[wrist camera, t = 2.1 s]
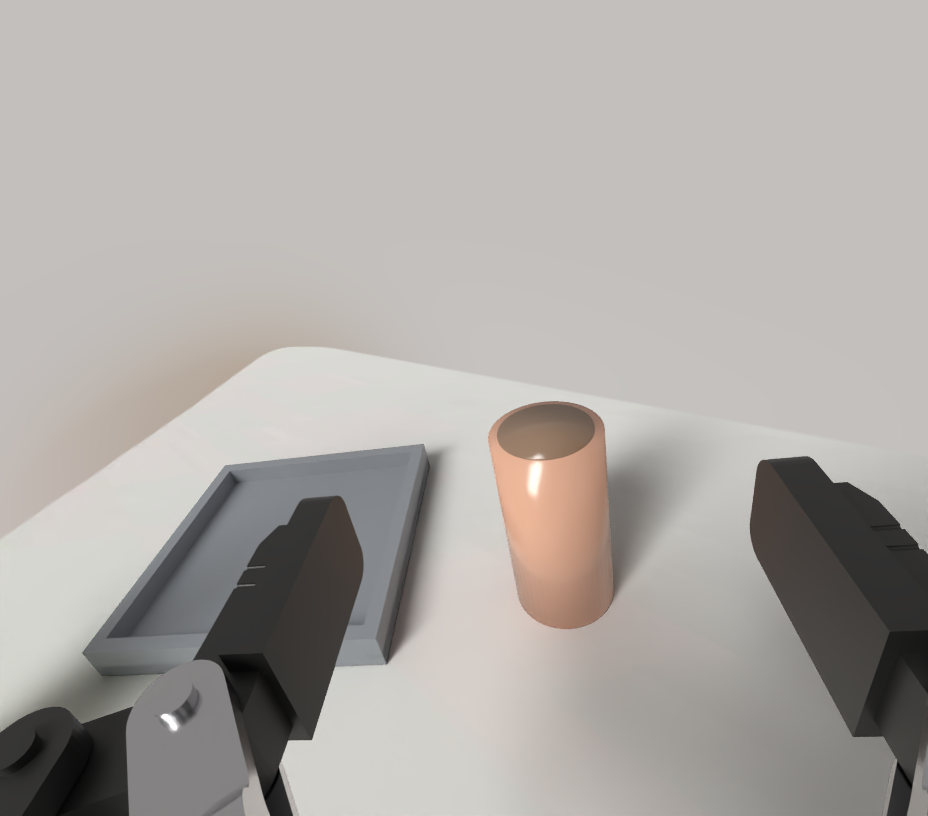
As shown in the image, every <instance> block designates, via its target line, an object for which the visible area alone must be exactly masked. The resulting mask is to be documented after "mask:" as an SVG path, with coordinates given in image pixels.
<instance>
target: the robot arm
mask: <svg viewBox="0 0 928 816" xmlns="http://www.w3.org/2000/svg"><path fill="white" fill-rule="evenodd" d="M750 535H751V541H752V545H753V548H754V552H755V554H756V556H757V558H758V560H759V562H760V564H761V566H762V568H763V570H764V572H765V574H766V575H767V577H768V579H769V581H770V583H771V585H772V587H773V588H774V590H775V592H776V594H777V596H778V598H779V600H780V601H781V603H782V605H783V607H784V609H785V611H786V613H787V615H788V616H789V618H790V620H791V622H792V624H793V626H794V628H795V629H796V631H797V633H798V635H799V637H800V639H801V641H802V643H803V644H804V646H805V648H806V650H807V652H808V654H809V656H810V657H811V659H812V661H813V663H814V665H815V667H816V669H817V670H818V672H819V674H820V676H821V678H822V680H823V682H824V684H825V685H826V687H827V689H828V691H829V693H830V695H831V697H832V698H833V700H834V702H835V704H836V706H837V708H838V710H839V712H840V713H841V715H842V717H843V719H844V721H845V723H846V725H847V726H848V728H849V730H850V732H851V734H852V736H853V737H880V736H884V738H885V740H886V741H887V743H888V745H889V747H890V748H891V750H892V752H893V753H894V755H895V759H894V762H893V765H892V768H891V772H890V777H889V782H888V787H887V792H886V797H885V802H884V807H883V812H882V816H928V554H927V553H926V552H925V551H924V550H923V549H919V547H918V543H917V542H916V541H915V540H914V539H913V538H912V537H911V536H910V535H909V533H908V532H907V531H906V530H905V529H901V528H900V524H899V523H898V521H897V520H896V519H895V518H894V517H893V516H892V515H891V514H890V513H889V512H888V511H887V509H886V508H885V507H884V506H883V505H882V504H881V503H880V502H879V501H878V500H876V499H875V498H873V497H871V496H870V495H868V494H866V493H865V492H863V491H861V490H860V489H858V488H856V487H855V486H853V485H851V484H850V483H848V482H843V483H833V482H832V481H831V480H830V479H829V477H828V476H827V475H826V474H825V473H824V471H823V470H822V469H821V468H820V467H819V465H818V464H817V463H816V462H815V461H814V460H813V459H812V458H810V457H808V456H804V457H792V458H780V459H769V460H762V461H760V462H759V464H758V467H757V472H756V480H755V488H754V495H753V503H752V511H751V519H750ZM363 569H364V560H363V553H362V549H361V546H360V543H359V540H358V537H357V535H356V532H355V529H354V526H353V524H352V521H351V518H350V515H349V513H348V510H347V507H346V504H345V502H344V500H343V499H342V497H340V496H338V495H336V496H325V497H313V498H304V499H302V500H301V501H300V502H299V503H298V505H297V507H296V509H295V511H294V513H293V514H292V516H291V518H290V520H289V522H288V524H287V525H279V526H278V527H277V528H276V529H275V530H273V531H272V532H271V533H270V534H269V535H268V536H267V537H266V538H265V539H264V540H263V541H262V542H261V543H260V544H259V545H258V547H257V549H256V551H255V552H254V554H253V556H252V558H251V559H250V561H249V563H248V565H247V570H244V572H243V573H242V575H241V577H240V579H239V580H238V582H237V588H234V589H233V591H232V593H231V594H230V596H229V598H228V600H227V601H226V603H225V605H224V607H223V609H222V610H221V612H220V614H219V616H218V617H217V619H216V621H215V623H214V624H213V626H212V628H211V630H210V631H209V633H208V635H207V637H206V638H205V640H204V642H203V644H202V645H201V647H200V649H199V651H198V652H197V654H196V656H195V657H194V659H193V661H189V662H186V663H183V664H181V665H179V666H177V667H175V668H173V669H171V670H169V671H168V672H166V673H164V674H163V675H162V676H160V677H159V678H158V679H157V680H155V681H154V682H153V683H152V684H151V685H150V686H149V687H148V688H147V689H146V690H145V691H144V692H143V694H142V695H141V696H140V698H139V699H138V700H137V702H136V703H135V705H134V706H133V707H130V708H127V709H124V710H121V711H119V712H116V713H113V714H110V715H107V716H104V717H101V718H98V719H95V720H92V721H89V722H86V723H84V724H81V723H80V722H79V721H78V720H77V719H76V718H75V717H74V716H73V715H72V714H71V713H70V712H69V711H68V710H67V709H65V708H62V707H49V708H44V709H41V710H38V711H35V712H33V713H31V714H28V715H26V716H25V717H23V718H21V719H19V720H18V721H16V722H14V723H13V724H11V725H10V726H9V727H7V728H6V729H5V730H3V731H2V732H1V733H0V816H299V814H298V811H297V807H296V804H295V801H294V798H293V794H292V791H291V788H290V785H289V781H288V778H287V775H286V771H285V768H284V766H283V764H282V762H281V759H282V756H283V753H284V751H285V748H286V745H287V742H288V740H312V738H313V735H314V732H315V728H316V725H317V722H318V719H319V716H320V712H321V709H322V706H323V703H324V700H325V696H326V693H327V690H328V687H329V684H330V680H331V677H332V674H333V671H334V668H335V664H336V661H337V658H338V655H339V652H340V648H341V645H342V642H343V639H344V636H345V632H346V629H347V626H348V623H349V620H350V616H351V613H352V610H353V607H354V604H355V600H356V597H357V594H358V591H359V588H360V584H361V581H362V577H363Z"/></svg>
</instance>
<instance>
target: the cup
mask: <svg viewBox="0 0 928 816" xmlns="http://www.w3.org/2000/svg"><path fill="white" fill-rule="evenodd" d="M488 441H489V447H490V452H491V457H492V462H493V468H494V473H495V478H496V483H497V488H498V494H499V499H500V504H501V509H502V514H503V520H504V525H505V530H506V535H507V541H508V546H509V551H510V556H511V561H512V567H513V572H514V577H515V582H516V587H517V593H518V597H519V601H520V603H521V605H522V607H523V608H524V610H525V611H526V612H527V613H528V614H529V615H530V616H531V617H532V618H533V619H535V620H536V621H538V622H540V623H542V624H544V625H547V626H550V627H554V628H560V629H572V628H578V627H583V626H585V625H588V624H590V623H592V622H594V621H596V620H597V619H599V618H600V617H601V616H602V615H603V614H604V613H605V612H606V611H607V610H608V608H609V606H610V605H611V602H612V599H613V594H614V586H613V569H612V551H611V533H610V516H609V498H608V480H607V463H606V445H605V428H604V424H603V421H602V420H601V418H600V417H599V416H598V415H597V414H596V413H595V412H593V411H592V410H590V409H588V408H586V407H584V406H581V405H578V404H574V403H569V402H558V401H551V402H540V403H534V404H529V405H526V406H522V407H520V408H517V409H515V410H512V411H510V412H508V413H507V414H505V415H504V416H502V417H501V418H500V419H499V420H497V421H496V422H495V424H494V425H493V426H492V428H491V430H490V432H489V436H488Z"/></svg>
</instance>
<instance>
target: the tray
mask: <svg viewBox="0 0 928 816" xmlns="http://www.w3.org/2000/svg"><path fill="white" fill-rule="evenodd" d="M428 470H429V462H428V458H427V455H426V451H425V447H424V444H419V445H410V446H401V447H392V448H382V449H373V450H364V451H355V452H346V453H336V454H327V455H318V456H309V457H300V458H290V459H281V460H272V461H263V462H254V463H244V464H235V465H226V466H224V468H223V469H222V470H221V472H220V473H219V474H218V476H217V477H216V478H215V479H214V481H213V482H212V483H211V485H210V486H209V487H208V489H207V490H206V491H205V493H204V494H203V495H202V497H201V498H200V499H199V500H198V502H197V503H196V504H195V506H194V507H193V508H192V510H191V511H190V512H189V514H188V515H187V516H186V517H185V519H184V520H183V521H182V523H181V524H180V525H179V527H178V528H177V529H176V531H175V532H174V533H173V535H172V536H171V537H170V538H169V540H168V541H167V542H166V544H165V545H164V546H163V548H162V549H161V550H160V552H159V553H158V554H157V556H156V557H155V558H154V559H153V561H152V562H151V563H150V565H149V566H148V567H147V569H146V570H145V571H144V573H143V574H142V575H141V576H140V578H139V579H138V580H137V582H136V583H135V584H134V586H133V587H132V588H131V590H130V591H129V592H128V594H127V595H126V596H125V597H124V599H123V600H122V601H121V603H120V604H119V605H118V607H117V608H116V609H115V611H114V612H113V613H112V614H111V616H110V617H109V618H108V620H107V621H106V622H105V624H104V625H103V626H102V628H101V629H100V630H99V632H98V633H97V634H96V635H95V637H94V638H93V639H92V641H91V642H90V643H89V645H88V646H87V647H86V649H85V650H84V651H83V652H82V653H83V655H84V656H85V657H86V658H87V659H88V660H89V661H90V663H91V664H92V665H93V666H94V667H95V668H96V669H97V671H98V672H99V673H100V674H101V675H102V676H113V675H137V674H162V673H166V672H168V671H169V670H171V669H173V668H175V667H177V666H179V665H181V664H183V663H186V662H189V661H193V659H194V657H195V656H196V654H197V652H198V651H199V649H200V647H201V645H202V644H203V642H204V640H205V638H206V637H207V635H208V633H209V631H210V630H211V628H212V626H213V624H214V623H215V621H216V619H217V617H218V616H219V614H220V612H221V610H222V609H223V607H224V605H225V603H226V601H227V600H228V598H229V596H230V594H231V593H232V591H233V589H234V588H237V582H238V580H239V579H240V577H241V575H242V573H243V572H244V570H247V565H248V563H249V561H250V559H251V558H252V556H253V554H254V552H255V551H256V549H257V547H258V545H259V544H260V543H261V542H262V541H263V540H264V539H265V538H266V537H267V536H268V535H269V534H270V533H271V532H272V531H273V530H275V529H276V528H277V527H278V526H279V525H287V524H288V522H289V520H290V518H291V516H292V514H293V513H294V511H295V509H296V507H297V505H298V503H299V502H300V501H301V500H302V499H304V498H313V497H325V496H336V495H338V496H340V497H342V499H343V500H344V502H345V504H346V507H347V510H348V513H349V515H350V518H351V521H352V524H353V526H354V529H355V532H356V535H357V537H358V540H359V543H360V546H361V549H362V553H363V560H364V569H363V577H362V581H361V584H360V588H359V591H358V594H357V597H356V600H355V604H354V607H353V610H352V613H351V616H350V620H349V623H348V626H347V629H346V632H345V636H344V639H343V642H342V645H341V648H340V652H339V655H338V658H337V661H336V664H335V666H357V665H382V664H387V659H388V655H389V650H390V645H391V641H392V636H393V632H394V627H395V622H396V618H397V613H398V609H399V604H400V599H401V595H402V590H403V586H404V581H405V576H406V572H407V567H408V562H409V558H410V553H411V549H412V544H413V539H414V535H415V530H416V526H417V521H418V516H419V512H420V507H421V503H422V498H423V493H424V489H425V484H426V479H427V475H428Z"/></svg>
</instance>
